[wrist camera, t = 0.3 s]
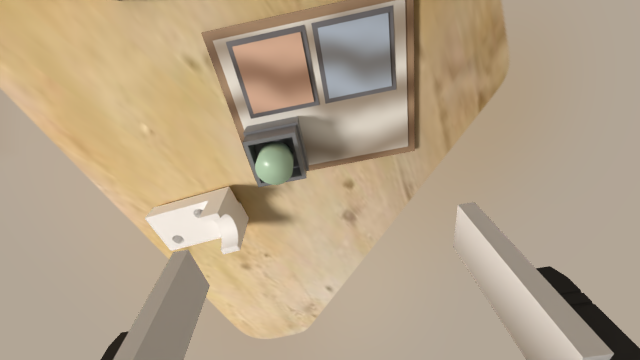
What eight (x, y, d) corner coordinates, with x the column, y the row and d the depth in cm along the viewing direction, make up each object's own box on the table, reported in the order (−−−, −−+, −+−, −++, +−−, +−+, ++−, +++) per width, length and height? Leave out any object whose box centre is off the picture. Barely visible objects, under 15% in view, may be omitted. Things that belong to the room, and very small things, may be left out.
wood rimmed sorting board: (203, 32, 31) (199, 32, 30) (411, -14, 30) (415, -16, 29) (256, 177, 42) (255, 182, 40) (412, 148, 40) (415, 152, 39)
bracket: (230, 183, 42) (217, 213, 36) (249, 217, 46) (240, 250, 39) (155, 204, 43) (129, 236, 37) (179, 235, 47) (159, 270, 41)
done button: (254, 145, 33) (250, 155, 31) (289, 138, 33) (287, 148, 31) (264, 175, 36) (261, 187, 33) (297, 169, 35) (296, 181, 33)
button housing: (246, 126, 36) (238, 140, 32) (297, 116, 36) (296, 129, 32) (262, 171, 40) (256, 189, 36) (308, 162, 39) (309, 179, 35)
